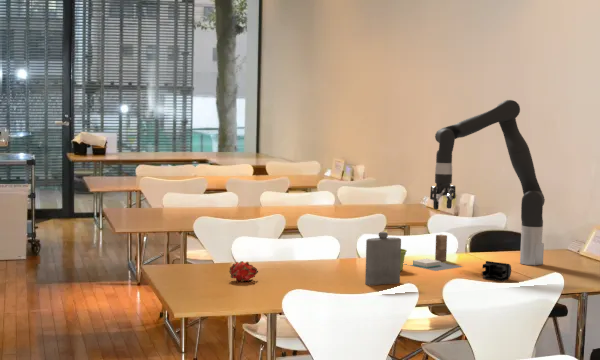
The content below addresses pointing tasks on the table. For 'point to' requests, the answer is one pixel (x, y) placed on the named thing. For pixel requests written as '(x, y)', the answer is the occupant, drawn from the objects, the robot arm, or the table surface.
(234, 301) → the table surface
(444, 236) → the walnut stick
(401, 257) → the plant pot
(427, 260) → the tile
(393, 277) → the flask
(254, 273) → the dragon fruit
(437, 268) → the mat
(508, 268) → the end cap
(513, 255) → the table surface
